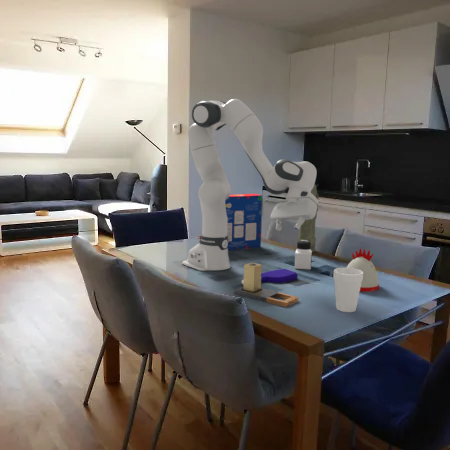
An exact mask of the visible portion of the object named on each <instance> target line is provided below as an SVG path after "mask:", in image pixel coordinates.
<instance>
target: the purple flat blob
mask: <svg viewBox="0 0 450 450" xmlns="http://www.w3.org/2000/svg"><path fill="white" fill-rule="evenodd" d="M297 279H298V273H297V272H296V271H294V270H290V269H287V268H278V269H272V270H269V271H265V272H261V283H272V284H283V283H289V282H293V281H296V280H297ZM241 284H242V285H244V279H241Z"/></svg>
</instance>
